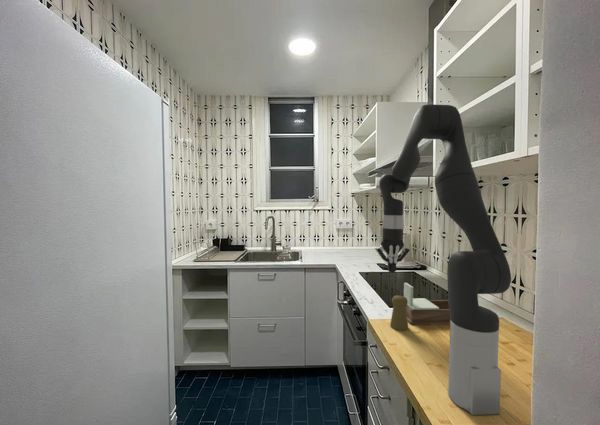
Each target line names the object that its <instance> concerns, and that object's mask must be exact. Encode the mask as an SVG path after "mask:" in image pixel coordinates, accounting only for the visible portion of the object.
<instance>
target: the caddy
mask: <svg viewBox="0 0 600 425" xmlns="http://www.w3.org/2000/svg"><path fill="white" fill-rule="evenodd" d="M427 300H428V301H430V302H431V303H433V304H434V305H436V306H437V307H439V309H429V310H413V309H412V308H410V307H409V306H408V305H407V306H406V313H407V322H408V325H410V326H411V325H413V326H415V325H450V309H449V305H448V299H439V300H438V299H437V300H436V299H434V300H433V299H432V300H431V299H427Z"/></svg>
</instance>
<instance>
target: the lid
mask: <svg viewBox="0 0 600 425" xmlns="http://www.w3.org/2000/svg"><path fill="white" fill-rule="evenodd" d="M403 296H404V297H406V299H407V301H408V303H407V305H408V306H409V307H410V308H412V309H413V310H429V309H439V307H437V306H436V305H434V304H433V303H431V302H430V301H428V300H429V299H427V298H420V297H419V298H414V286H412V285H410V284H409V283H408V282H403Z"/></svg>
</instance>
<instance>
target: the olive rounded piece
mask: <svg viewBox="0 0 600 425" xmlns="http://www.w3.org/2000/svg"><path fill="white" fill-rule="evenodd" d="M391 302H392V305H393V306H392V312H391V318H390V325H389V326H390V328H391V329H393V330H395V331H400V332H405V331H408V330H409V323H408V322H407V313H406V306H407V303H408V301H407V299H406V297H404V295H397V294H396V295H393V297H392V298H391Z"/></svg>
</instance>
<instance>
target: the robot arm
mask: <svg viewBox="0 0 600 425" xmlns="http://www.w3.org/2000/svg"><path fill="white" fill-rule="evenodd" d="M463 127H464V126H463V122H462V116H461V114H460V111H459V110H458V108H457V107H456V106H454V105H450V104H429V103H428V104H423V105H421V106H420V107H419V108H418V109H417V110H416V112H415V114H414V116H413V118H412V120H411V124H410V126H409V129H408V132H407V135H406V138H405V141H404V142H403V143H404V144H403V147H402V148H401V149H402V150H401V152H400V154H399V155H398V157H397V159H396V161H395V163H394V164H393V166H392V168H391V173H385V174H383V175H381V177H380V179H379V180H378V182H379V183H378V184H379V185H378V186H379V190H380V193H381V197H382V203H383V217H382V225H381V226H382V231H381V232H382V233H381V234H382V235H381V240H382V241H381V243H380V245H379V246H378V247H375V252H377V254H378V255H379V256H380V258H381V259H382V260H383V261H384V262H387V271H388V273H390V274H395V272H396V271H397V264H398V263H399V262H402V261H403V259H404V258H405V257H406V256H407V255H408V253H409V252H410V248H408V247H406V246H405V243H404V202H403V200H401V199H397V198H395V197H393V196H392V194H403V193H406V191H408V189H409V187H410V182H411V178H412V176H413V175H414V172H416V170H417V168H419V165H420V162H421V155H420V150H419V144H420V143H421V141H422V140H423V139H424V140H441V142H442V145H443V148H444V156H443V158H442V161H441V163H440V164H439V166H438V169H437V171H436V174H435V175H434V186H435V191H436V194H437V198H438V202H439V205H440V206H441V208H442V210H443V211H444V212H445V214H446V215H447V216H448V217H449V218H451V220H453V222H454V223H455V224H456V225H457V226H459V228H460V230H462V232H463V233H464V234H465V235H466V237H467V240H468V241H469V244H470V247H471V249H472V250H469V251H468V250H465V251H463V250H462V251H459V250H458V251H455V252H453V253H452V254H451V255H450V257H449V259H448V262H447V270H446V274H447V279H446V281H447V300H448V305H449V309H450V324H449V325H450V326H449V348H448V349H449V351H448V352H449V354H448V355H449V356H448V390H447V391H448V392H447V394H448V397H449V398H450V399H451V401H452V402H453V403H454V404H455V405H457V406H458V407H460V408H461V409H464V410H465V411H467V412H468V413H469V414H470V415H472V416H474V415H477V416H478V415H481V416H482V415H483V416H484V415H500V411H501V387H502V386H501V383H502V381H501V380H502V370H501V368H499V367H498V366H499V340H500V318H499V315H498V314H497V312H495V311H493V310H491V309H490V308H487V307H484V306H481V305H479V297H478V295H491V294H493V295H496V294H503V293H505V292H507V291H508V290H509V288H510V286H511V282H512V273H511V269H510V265H509V261H508V259H507V257H506V255H505V253H504V250H503V248H502V246H501V244H500V241H499V239H498V237H497V234H496V232H495V230H494V227H493V225H492V223H491V220H490V217H489V214H488V212H487V208H486V206H485V203H484V200H483V197H482V192H481V189H480V186H479V183H478V182H479V181H478V178H477V177H476V174H475V171H474V168H473V164H472V162H471V159H470V155H469V151H468V148H467V142H466V138H465V134H464V132H465V131H464V128H463ZM384 252H385V253H386V254H384Z"/></svg>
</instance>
